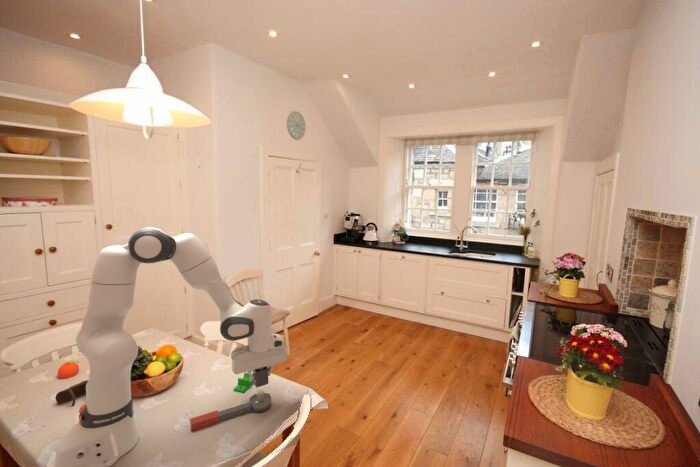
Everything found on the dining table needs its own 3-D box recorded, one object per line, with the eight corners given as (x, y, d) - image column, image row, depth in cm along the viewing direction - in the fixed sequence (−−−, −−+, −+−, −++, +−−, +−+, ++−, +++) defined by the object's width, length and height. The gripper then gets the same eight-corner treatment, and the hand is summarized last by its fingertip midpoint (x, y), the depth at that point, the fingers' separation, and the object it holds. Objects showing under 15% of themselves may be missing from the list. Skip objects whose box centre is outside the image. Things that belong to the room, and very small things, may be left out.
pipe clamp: (243, 384, 131) (233, 382, 132) (243, 393, 131) (233, 391, 132) (257, 370, 141) (248, 369, 143) (257, 378, 142) (248, 377, 143)
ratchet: (192, 436, 107) (191, 419, 107) (189, 421, 114) (188, 405, 113) (274, 408, 122) (273, 393, 121) (267, 397, 129) (267, 383, 128)
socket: (256, 387, 120) (255, 371, 119) (252, 381, 123) (252, 365, 123) (268, 383, 122) (268, 368, 121) (264, 377, 126) (264, 362, 125)
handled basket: (55, 406, 121) (54, 389, 120) (91, 391, 131) (90, 374, 130) (79, 423, 112) (77, 404, 112) (116, 405, 123) (115, 387, 122)
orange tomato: (73, 371, 144) (72, 356, 144) (86, 373, 143) (85, 358, 142) (53, 381, 137) (52, 365, 136) (67, 383, 135) (65, 367, 135)
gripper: (233, 353, 113) (234, 390, 114) (288, 339, 123) (288, 374, 125) (229, 345, 118) (230, 381, 119) (282, 333, 129) (282, 366, 130)
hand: (260, 377), depth 122 cm, fingers closed on socket, 5 cm apart
